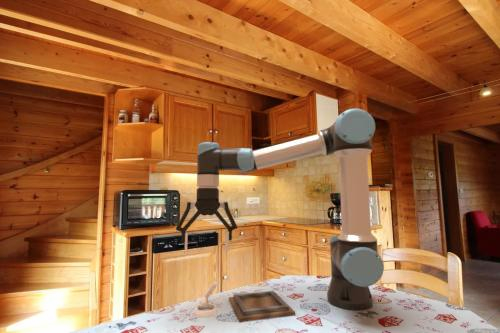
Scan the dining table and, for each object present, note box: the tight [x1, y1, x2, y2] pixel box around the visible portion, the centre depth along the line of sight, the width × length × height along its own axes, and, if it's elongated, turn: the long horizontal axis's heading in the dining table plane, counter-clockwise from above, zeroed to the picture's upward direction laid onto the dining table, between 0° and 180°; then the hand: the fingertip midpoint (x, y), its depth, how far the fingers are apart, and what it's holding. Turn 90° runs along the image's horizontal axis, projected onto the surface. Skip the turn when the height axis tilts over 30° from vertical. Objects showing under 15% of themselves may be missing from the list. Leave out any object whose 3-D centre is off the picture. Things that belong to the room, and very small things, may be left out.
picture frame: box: [228, 290, 296, 323], centre depth 92 cm, size 18×18×2 cm
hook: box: [193, 280, 219, 318], centre depth 88 cm, size 8×12×7 cm
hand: (206, 251), depth 91 cm, fingers open, 13 cm apart
